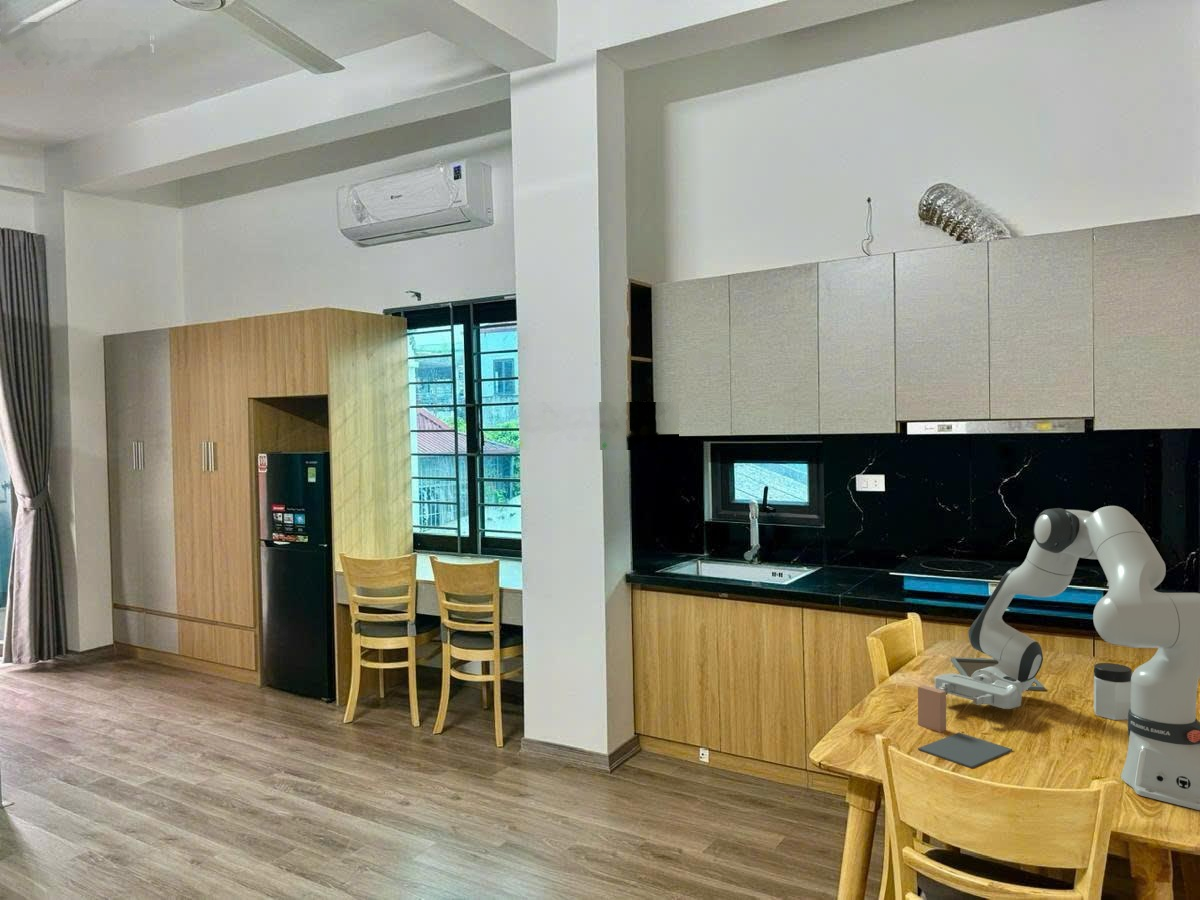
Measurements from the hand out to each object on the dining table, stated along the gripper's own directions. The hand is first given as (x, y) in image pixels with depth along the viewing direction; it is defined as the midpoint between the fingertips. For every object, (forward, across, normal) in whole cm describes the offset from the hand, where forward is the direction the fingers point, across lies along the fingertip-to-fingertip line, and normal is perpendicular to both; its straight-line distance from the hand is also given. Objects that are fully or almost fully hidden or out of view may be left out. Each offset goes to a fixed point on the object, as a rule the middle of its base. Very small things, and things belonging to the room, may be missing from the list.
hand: (957, 696), depth 215 cm
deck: (+11, 0, +6) cm, 12 cm away
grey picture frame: (-42, -15, +6) cm, 45 cm away
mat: (+18, +13, +6) cm, 23 cm away
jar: (-32, +22, +6) cm, 39 cm away
